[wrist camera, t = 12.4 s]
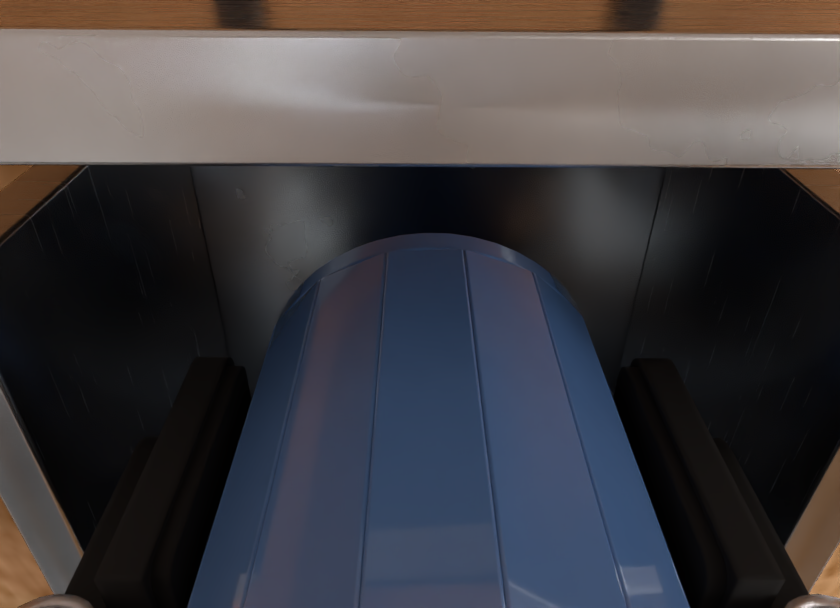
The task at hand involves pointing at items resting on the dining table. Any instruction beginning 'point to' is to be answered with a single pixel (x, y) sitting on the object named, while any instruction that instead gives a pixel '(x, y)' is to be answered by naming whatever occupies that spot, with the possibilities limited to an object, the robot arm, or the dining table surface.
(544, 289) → the cup
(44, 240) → the drawer
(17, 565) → the dining table surface
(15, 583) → the dining table surface
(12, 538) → the dining table surface
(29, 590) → the dining table surface
